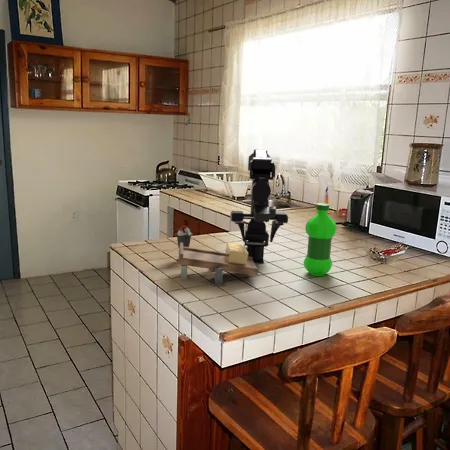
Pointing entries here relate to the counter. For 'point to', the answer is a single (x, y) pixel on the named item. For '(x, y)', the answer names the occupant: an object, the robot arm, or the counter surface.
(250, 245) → the robot arm
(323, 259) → the plastic bottle
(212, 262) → the wooden tray
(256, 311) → the counter surface
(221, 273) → the pivot stand
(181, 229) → the sundae
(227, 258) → the tan wood-grain block
